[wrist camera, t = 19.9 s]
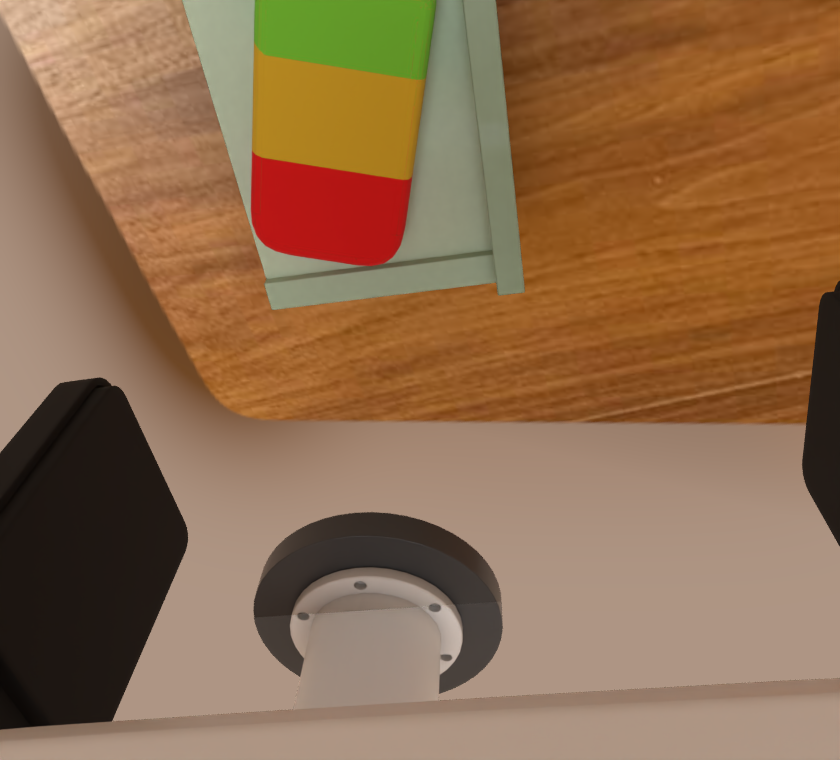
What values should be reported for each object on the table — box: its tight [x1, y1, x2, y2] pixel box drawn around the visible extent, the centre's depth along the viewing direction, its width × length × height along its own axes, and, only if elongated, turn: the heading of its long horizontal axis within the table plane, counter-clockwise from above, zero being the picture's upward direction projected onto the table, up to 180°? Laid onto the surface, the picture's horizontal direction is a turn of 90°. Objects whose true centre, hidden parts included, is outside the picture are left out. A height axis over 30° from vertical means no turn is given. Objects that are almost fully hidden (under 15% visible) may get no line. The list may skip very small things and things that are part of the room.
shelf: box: [182, 0, 525, 310], centre depth 27 cm, size 19×10×8 cm, turn 9°
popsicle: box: [251, 0, 436, 266], centre depth 24 cm, size 6×15×2 cm, turn 172°
